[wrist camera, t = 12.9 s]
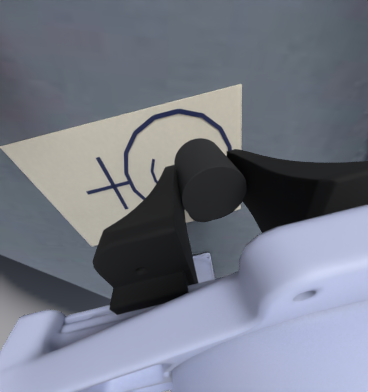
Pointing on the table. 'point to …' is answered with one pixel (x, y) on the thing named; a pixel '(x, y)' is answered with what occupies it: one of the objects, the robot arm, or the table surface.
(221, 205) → the black cylinder
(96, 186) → the drawing card
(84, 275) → the table surface
